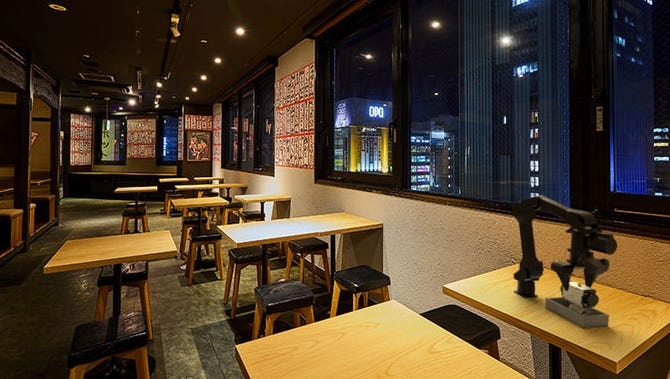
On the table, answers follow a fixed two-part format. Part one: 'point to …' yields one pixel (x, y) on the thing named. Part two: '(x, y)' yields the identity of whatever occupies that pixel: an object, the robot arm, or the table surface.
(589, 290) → the pneumatic valve
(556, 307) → the bin
